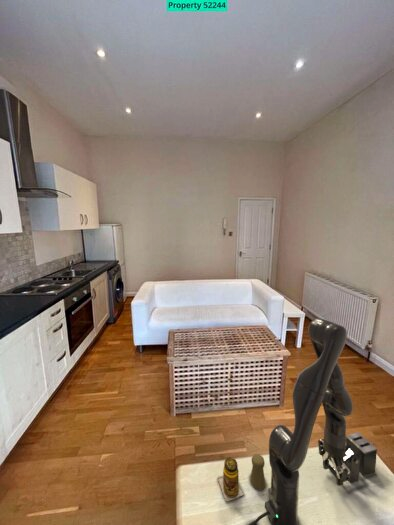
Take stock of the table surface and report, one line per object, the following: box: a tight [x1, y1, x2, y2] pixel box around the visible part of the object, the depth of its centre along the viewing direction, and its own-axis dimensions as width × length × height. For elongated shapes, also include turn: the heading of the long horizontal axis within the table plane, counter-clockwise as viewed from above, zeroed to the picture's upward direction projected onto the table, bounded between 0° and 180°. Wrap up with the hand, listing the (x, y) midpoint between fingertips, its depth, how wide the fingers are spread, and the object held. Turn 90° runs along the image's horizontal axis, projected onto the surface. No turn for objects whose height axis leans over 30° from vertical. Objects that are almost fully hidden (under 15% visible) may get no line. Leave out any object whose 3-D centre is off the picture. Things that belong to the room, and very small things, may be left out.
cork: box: [249, 453, 266, 490], centre depth 91 cm, size 6×6×11 cm
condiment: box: [217, 456, 244, 502], centre depth 89 cm, size 7×8×12 cm
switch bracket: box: [344, 445, 360, 485], centre depth 91 cm, size 10×8×13 cm
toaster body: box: [346, 431, 378, 477], centre depth 96 cm, size 7×8×12 cm
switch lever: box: [326, 449, 354, 479], centre depth 90 cm, size 12×5×2 cm, turn 107°
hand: (332, 476), depth 89 cm, fingers open, 5 cm apart
